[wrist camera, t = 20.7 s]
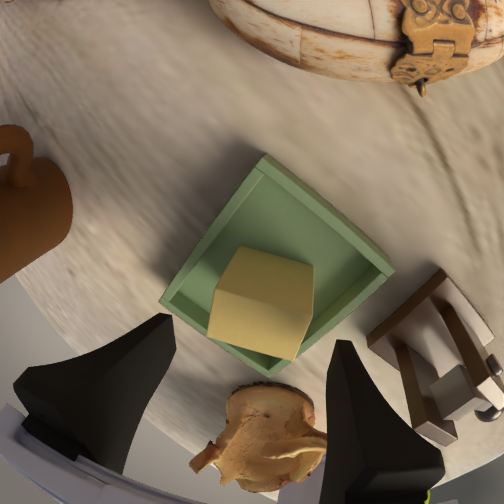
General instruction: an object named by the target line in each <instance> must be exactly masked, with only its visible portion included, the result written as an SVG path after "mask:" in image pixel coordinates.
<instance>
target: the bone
mask: <svg viewBox="0 0 504 504" xmlns="http://www.w3.org/2000/svg"><path fill="white" fill-rule="evenodd" d="M267 382H268V381H267ZM239 387H240V388H239V389H238V388H237V389H236V391H233V393H232V395H231V396H230V398H228V401H227V403H226V406H225V410H226V414H227V420H226V424H227V426H226V428H225V430H224V431H223V432H222V433H221V434H220V438H217V440H216V444H213V442H212V441H211V440H210V441H209V442H208V444H207V447H206V448H205V449H204V450H203V451H202V452H200V453H199V454H198V455H196V456H195V457H194V458H193V459H192V460H191V461H190V462H189V466H190V467H191V468H192V469H193V470H194V472H195V473H196V474H197V473H199V472H201V471H202V470H203V469H204V468H205V467H206V466H208V465H209V464H211V463H212V462H213V464H214V465H216V467H217V468H218V469H219V471H220V472H221V474H222V477H221V480H220V484H221V485H222V486H224V485H226V484H227V483H229V482H231V481H232V480H234V479H235V480H237V482H238V483H239V485H240V487H241V488H242V489H244V490H248V491H249V492H253V493H257V492H271V491H276V490H278V489H280V488H282V487H284V486H285V485H287V484H289V483H290V482H295V483H300V482H302V481H304V480H305V479H306V478H307V477H308V476H309V477H310V476H311V473H312V472H313V470H314V469H315V468H316V467H317V466H318V464H319V463H320V462H321V460H322V457H323V455H324V454H325V453H326V449H327V434H326V433H324V432H320V431H318V430H316V429H315V428H313V426H314V424H315V416H314V407H313V406H314V404H313V401H312V399H310V398H309V397H308V395H306V394H304V392H302V391H301V390H298V389H296V388H291V387H290V386H289V385H285V384H280V383H276V384H272V383H269V382H268V383H265V384H264V383H263V382H262V381H261V382H259V383H255V382H254V383H253V385H247V386H244V385H243V386H239ZM193 403H194V402H193Z"/></svg>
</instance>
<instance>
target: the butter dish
mask: <svg viewBox="0 0 504 504" xmlns="http://www.w3.org/2000/svg"><path fill="white" fill-rule="evenodd" d="M239 246H244V247H248V248H251V249H255V250H258V251H262V252H266V253H269V254H273V255H276V256H280V257H283V258H287V259H290V260H294V261H297V262H301V263H305V264H308V265H312V266H314V295H313V317H312V320H311V322H310V324H309V327H308V329H307V332H306V334H305V336H304V339H303V341H302V343H301V345H300V348H299V350H298V352H297V355H296V357H295V359H296V358H297V357H298V356H300V355H301V354H302V353H303V352H305V351H306V350H307V349H308V348H310V347H311V346H312V345H313V344H315V343H316V342H317V341H318V340H320V339H321V338H322V337H323V336H324V335H326V334H327V333H328V332H329V331H330V330H332V329H333V328H334V327H335V326H336V325H337V324H339V323H340V322H341V321H342V320H343V319H344V318H346V317H347V316H348V315H349V314H350V313H351V312H352V311H354V310H355V309H356V308H357V307H358V306H359V305H360V304H361V303H362V302H364V301H365V300H366V299H367V298H368V297H369V296H370V295H371V294H372V293H373V292H374V291H375V290H377V289H378V288H379V287H380V286H381V285H382V284H383V283H384V282H385V281H386V280H387V279H388V278H389V277H390V276H391V275H392V274H393V273H394V272H395V269H394V267H393V265H392V263H391V261H390V259H389V257H388V255H387V254H386V253H384V252H383V251H382V250H381V249H380V248H379V247H378V246H377V245H376V244H375V243H374V242H373V241H372V240H370V239H369V238H368V237H367V236H366V235H365V234H364V233H363V232H362V231H361V230H359V229H358V228H357V227H356V226H355V225H354V224H353V223H352V222H350V221H349V220H348V219H347V218H346V217H345V216H344V215H342V214H341V213H340V212H339V211H338V210H337V209H335V208H334V207H333V206H332V205H331V204H330V203H328V202H327V201H326V200H325V199H324V198H322V197H321V196H320V195H319V194H318V193H316V192H315V191H314V190H313V189H312V188H310V187H309V186H308V185H307V184H305V183H304V182H303V181H302V180H301V179H299V178H298V177H297V176H296V175H294V174H293V173H292V172H290V171H289V170H288V169H287V168H285V167H284V166H283V165H282V164H280V163H279V162H278V161H276V160H275V159H274V158H272V157H271V156H270V155H269V154H266V155H265V156H263V157H262V158H260V160H259V161H258V162H257V164H256V165H255V167H254V168H253V169H252V170H251V171H250V173H249V174H248V175H247V177H246V178H245V179H244V181H243V182H242V183H241V185H240V186H239V187H238V189H237V190H236V191H235V193H234V194H233V195H232V197H231V198H230V200H229V201H228V202H227V204H226V205H225V206H224V208H223V209H222V210H221V212H220V213H219V215H218V216H217V217H216V219H215V220H214V221H213V223H212V224H211V226H210V227H209V228H208V230H207V231H206V233H205V234H204V235H203V237H202V238H201V240H200V241H199V242H198V244H197V245H196V247H195V248H194V250H193V251H192V252H191V254H190V255H189V257H188V258H187V260H186V261H185V263H184V264H183V265H182V267H181V268H180V270H179V271H178V273H177V274H176V276H175V277H174V279H173V280H172V282H171V283H170V284H169V286H168V287H167V289H166V290H165V292H164V293H163V295H162V296H161V298H160V299H159V301H158V302H159V303H160V304H162V305H163V306H164V307H166V308H167V309H168V310H170V311H171V312H172V313H174V314H175V315H176V316H178V317H179V318H180V319H182V320H183V321H184V322H186V323H187V324H189V325H190V326H191V327H193V328H194V329H195V330H197V331H198V332H200V333H201V334H203V335H204V336H205V337H207V336H206V334H207V328H208V322H209V317H210V311H211V305H212V300H213V294H214V288H215V286H216V285H217V283H218V281H219V280H220V278H221V276H222V275H223V273H224V271H225V269H226V268H227V266H228V264H229V263H230V261H231V259H232V258H233V256H234V254H235V252H236V251H237V249H238V247H239ZM387 277H388V278H387ZM207 338H208V339H210V340H211V341H213V342H214V343H215V344H217V345H218V346H220V347H221V348H223V349H224V350H226V351H227V352H229V353H230V354H232V355H233V356H235V357H236V358H238V359H239V360H241V361H242V362H244V363H246V364H247V365H249V366H250V367H252V368H253V369H255V370H257V371H258V372H260V373H261V374H263V375H265V376H266V377H268V378H270V377H272V376H273V375H274V374H276V373H277V372H279V371H280V370H281V369H283V368H284V367H285V366H287V365H288V364H289V363H290V362H292V361H290V360H286V359H282V358H278V357H274V356H271V355H267V354H263V353H260V352H256V351H253V350H249V349H246V348H242V347H239V346H236V345H232V344H229V343H226V342H223V341H219V340H216V339H213V338H210V337H207Z"/></svg>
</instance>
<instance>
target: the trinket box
mask: <svg viewBox="0 0 504 504" xmlns="http://www.w3.org/2000/svg"><path fill="white" fill-rule="evenodd" d="M208 2H209V4H210V6H211V8H212V9H213V11H214V12H215V14H216V15H217V16H218V17H219V19H220V20H221V21H222V22H223V23H224V24H225V25H226V26H227V27H228V28H229V29H230V30H231V31H232V32H233V33H235V34H236V35H237V36H238V37H240V38H241V39H242V40H244V41H245V42H247V43H248V44H250V45H251V46H253V47H255V48H256V49H258V50H260V51H262V52H263V53H265V54H267V55H269V56H271V57H273V58H275V59H277V60H279V61H281V62H283V63H286V64H288V65H291V66H293V67H296V68H299V69H302V70H305V71H308V72H312V73H315V74H319V75H323V76H327V77H332V78H338V79H344V80H352V81H363V82H400V83H401V84H407V85H408V86H409V87H410V88H417V90H418V93H419V95H420V96H421V97H424V96H425V95H426V90H425V84H430V83H434V82H436V81H439V80H445V79H448V78H449V77H454V76H459V75H463V74H467V73H470V72H473V71H476V70H479V69H481V68H483V67H485V66H487V65H489V64H491V63H493V62H495V61H496V60H498V59H499V58H501V57H502V56H503V55H504V0H208Z"/></svg>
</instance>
